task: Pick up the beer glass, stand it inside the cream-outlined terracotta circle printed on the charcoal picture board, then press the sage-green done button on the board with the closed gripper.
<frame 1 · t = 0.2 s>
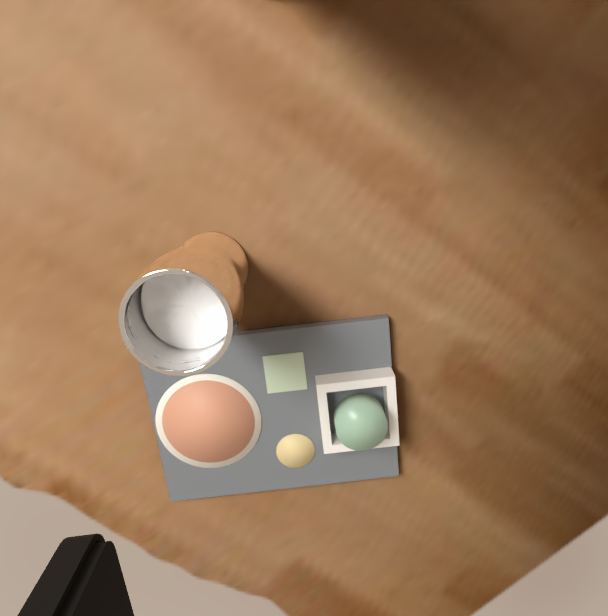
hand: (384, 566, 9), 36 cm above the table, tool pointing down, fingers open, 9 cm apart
picture board: (274, 409, 48), on the table
beer glass: (212, 266, 44), on the table
done button: (360, 421, 44), point 4 cm above the table, slide at 0.0 cm
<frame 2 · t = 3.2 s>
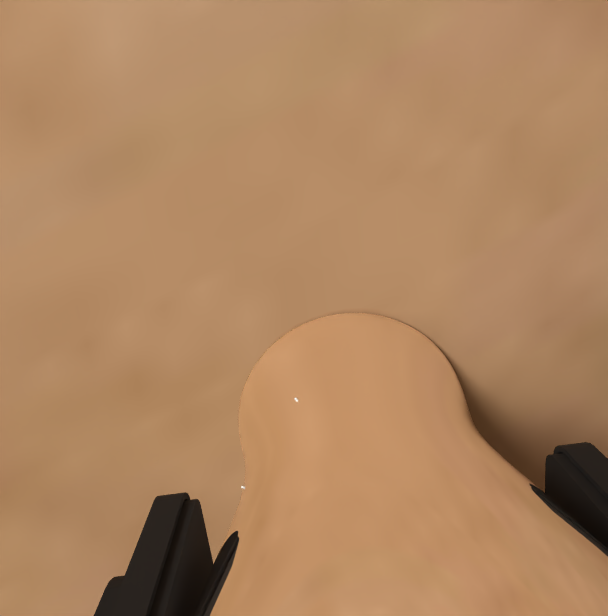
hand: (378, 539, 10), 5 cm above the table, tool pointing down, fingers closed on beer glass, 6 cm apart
beer glass: (349, 413, 14), on the table, touching gripper
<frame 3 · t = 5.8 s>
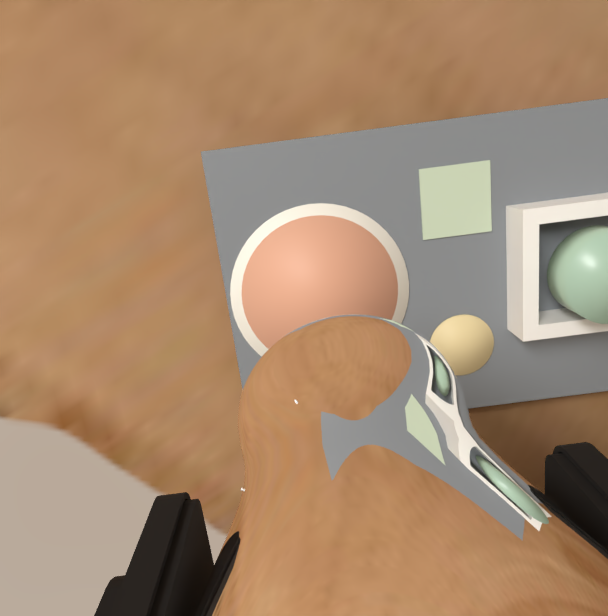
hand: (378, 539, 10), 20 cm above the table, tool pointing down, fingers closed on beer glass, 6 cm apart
picture board: (425, 275, 29), on the table
beer glass: (349, 414, 14), point 15 cm above the table, touching gripper
done button: (602, 274, 25), point 4 cm above the table, slide at 0.0 cm
when the fingers open (6 cm above the table, at t = 8.8 s): beer glass stays where it is, resting on picture board.
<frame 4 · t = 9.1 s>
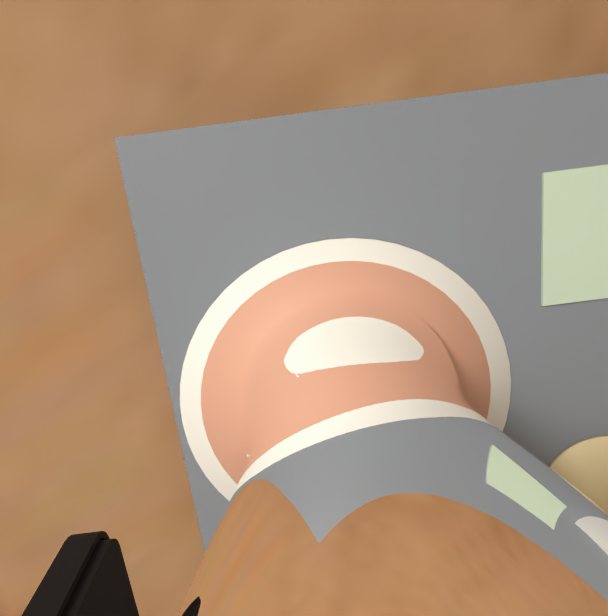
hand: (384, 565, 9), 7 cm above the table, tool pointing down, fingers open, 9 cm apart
picture board: (535, 362, 16), on the table
beer glass: (348, 394, 15), point 1 cm above the table, touching picture board
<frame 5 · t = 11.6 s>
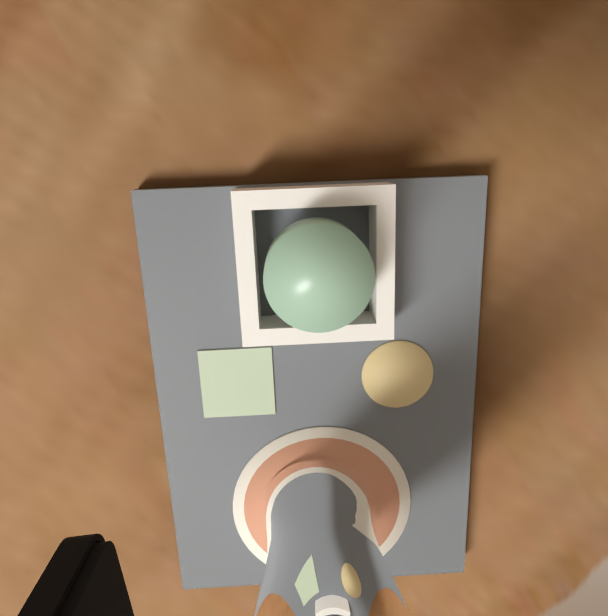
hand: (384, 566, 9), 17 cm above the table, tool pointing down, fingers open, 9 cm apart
picture board: (317, 396, 27), on the table
beer glass: (318, 503, 28), point 1 cm above the table, touching picture board
done button: (317, 274, 21), point 4 cm above the table, slide at 0.0 cm
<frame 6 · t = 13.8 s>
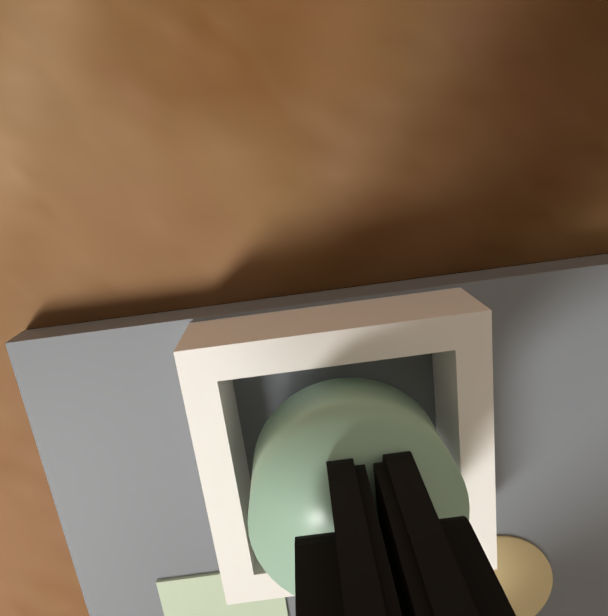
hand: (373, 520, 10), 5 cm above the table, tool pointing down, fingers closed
picture board: (360, 613, 17), on the table
done button: (352, 490, 11), point 4 cm above the table, slide at 0.2 cm, touching gripper
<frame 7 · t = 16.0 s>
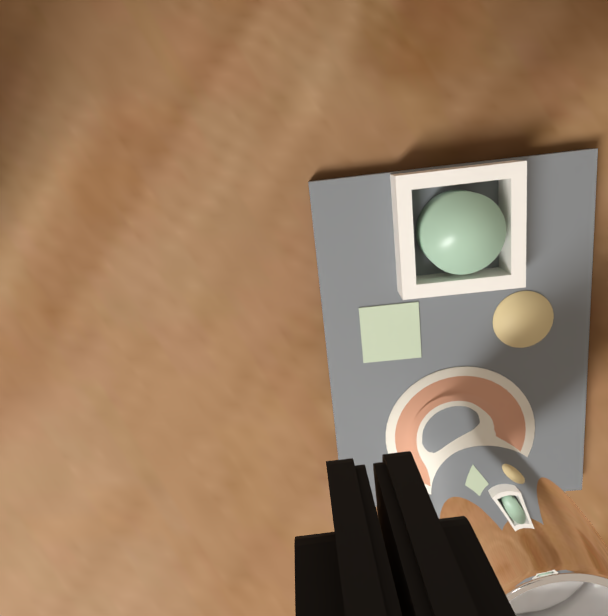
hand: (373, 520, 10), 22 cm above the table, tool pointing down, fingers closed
picture board: (452, 343, 33), on the table
beer glass: (455, 432, 34), point 1 cm above the table, touching picture board
done button: (459, 231, 28), point 2 cm above the table, slide at 1.6 cm
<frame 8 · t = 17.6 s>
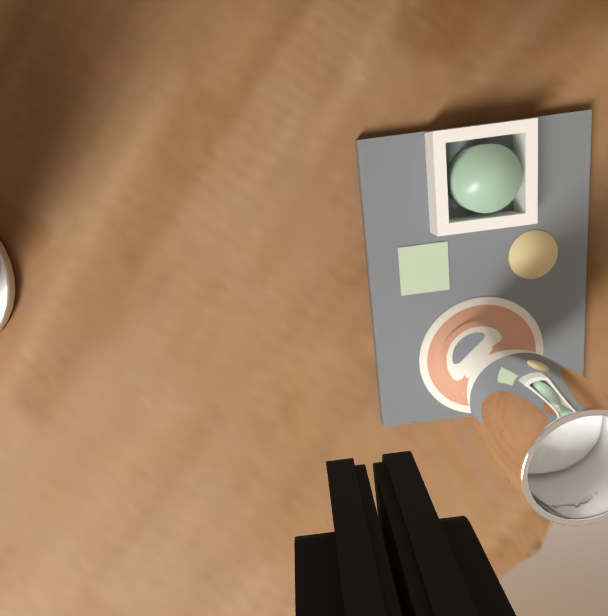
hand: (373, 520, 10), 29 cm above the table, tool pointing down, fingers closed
picture board: (474, 278, 39), on the table
beer glass: (477, 355, 40), point 1 cm above the table, touching picture board
done button: (483, 178, 34), point 2 cm above the table, slide at 1.6 cm
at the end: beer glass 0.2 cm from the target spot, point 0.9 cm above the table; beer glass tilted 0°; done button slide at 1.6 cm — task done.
